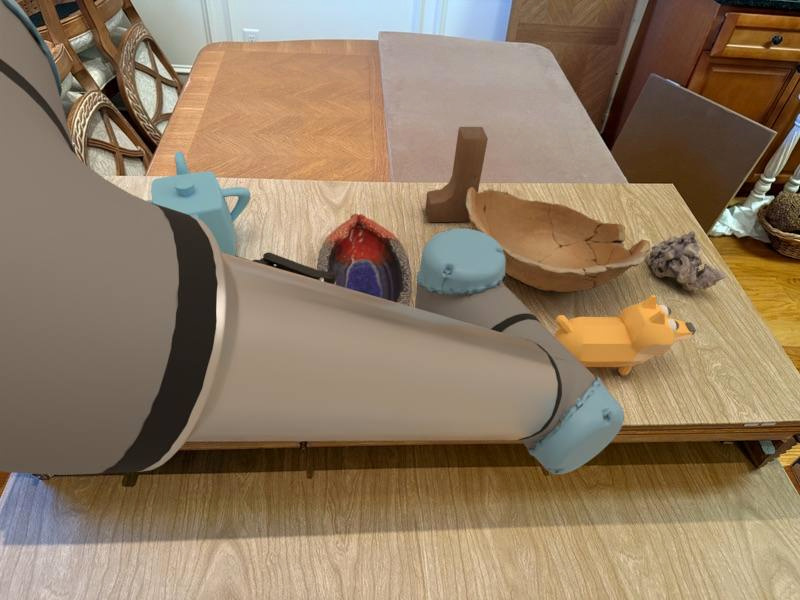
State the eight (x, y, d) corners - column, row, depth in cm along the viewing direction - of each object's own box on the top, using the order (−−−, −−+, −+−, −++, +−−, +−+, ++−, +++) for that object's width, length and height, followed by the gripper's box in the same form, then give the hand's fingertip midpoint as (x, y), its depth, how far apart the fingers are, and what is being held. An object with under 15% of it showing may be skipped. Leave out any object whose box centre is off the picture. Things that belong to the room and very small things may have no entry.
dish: (311, 358, 79) (309, 335, 76) (322, 231, 101) (321, 209, 98) (416, 357, 81) (418, 335, 77) (404, 232, 102) (406, 210, 99)
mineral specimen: (729, 290, 90) (720, 233, 87) (671, 304, 91) (662, 248, 89) (696, 273, 101) (688, 222, 99) (646, 286, 103) (636, 236, 100)
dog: (680, 385, 80) (721, 325, 71) (548, 385, 78) (573, 324, 69) (659, 344, 85) (695, 284, 76) (536, 344, 84) (558, 283, 75)
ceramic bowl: (606, 215, 107) (634, 155, 95) (636, 331, 91) (674, 276, 79) (455, 209, 107) (464, 148, 95) (458, 323, 92) (469, 268, 79)
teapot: (267, 240, 99) (258, 175, 89) (202, 291, 88) (184, 224, 79) (193, 208, 105) (177, 144, 95) (124, 252, 94) (98, 186, 85)
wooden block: (427, 223, 105) (437, 138, 93) (424, 209, 108) (433, 125, 96) (473, 222, 106) (488, 138, 94) (468, 209, 109) (483, 125, 97)
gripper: (323, 420, 56) (139, 351, 61) (391, 302, 69) (235, 253, 74) (319, 375, 51) (118, 304, 56) (394, 257, 64) (225, 207, 69)
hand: (185, 275), depth 65 cm, fingers closed on beverage cup, 6 cm apart
